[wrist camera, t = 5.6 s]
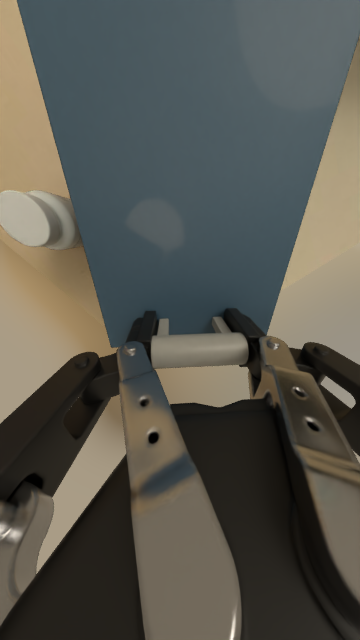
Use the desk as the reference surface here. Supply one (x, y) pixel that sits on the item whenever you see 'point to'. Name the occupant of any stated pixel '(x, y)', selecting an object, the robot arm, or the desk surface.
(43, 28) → the lid
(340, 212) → the desk surface
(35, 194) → the pill bottle
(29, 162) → the desk surface
